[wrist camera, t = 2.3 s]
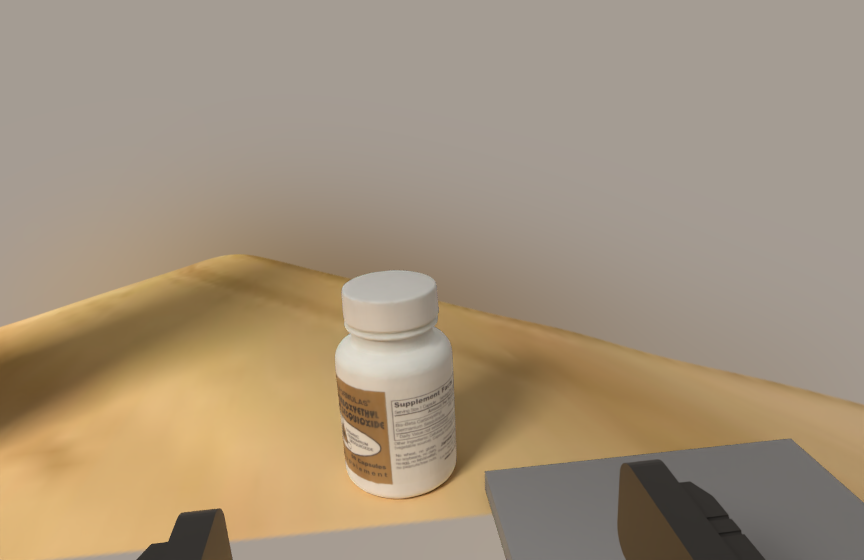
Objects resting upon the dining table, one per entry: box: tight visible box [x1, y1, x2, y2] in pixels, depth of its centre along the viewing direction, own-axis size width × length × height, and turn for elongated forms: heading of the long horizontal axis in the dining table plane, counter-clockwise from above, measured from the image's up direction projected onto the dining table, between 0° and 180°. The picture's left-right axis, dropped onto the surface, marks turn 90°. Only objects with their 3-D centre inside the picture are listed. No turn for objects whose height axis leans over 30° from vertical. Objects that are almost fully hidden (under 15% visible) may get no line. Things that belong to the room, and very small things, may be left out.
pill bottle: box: [335, 270, 456, 499], centre depth 25 cm, size 4×4×8 cm
